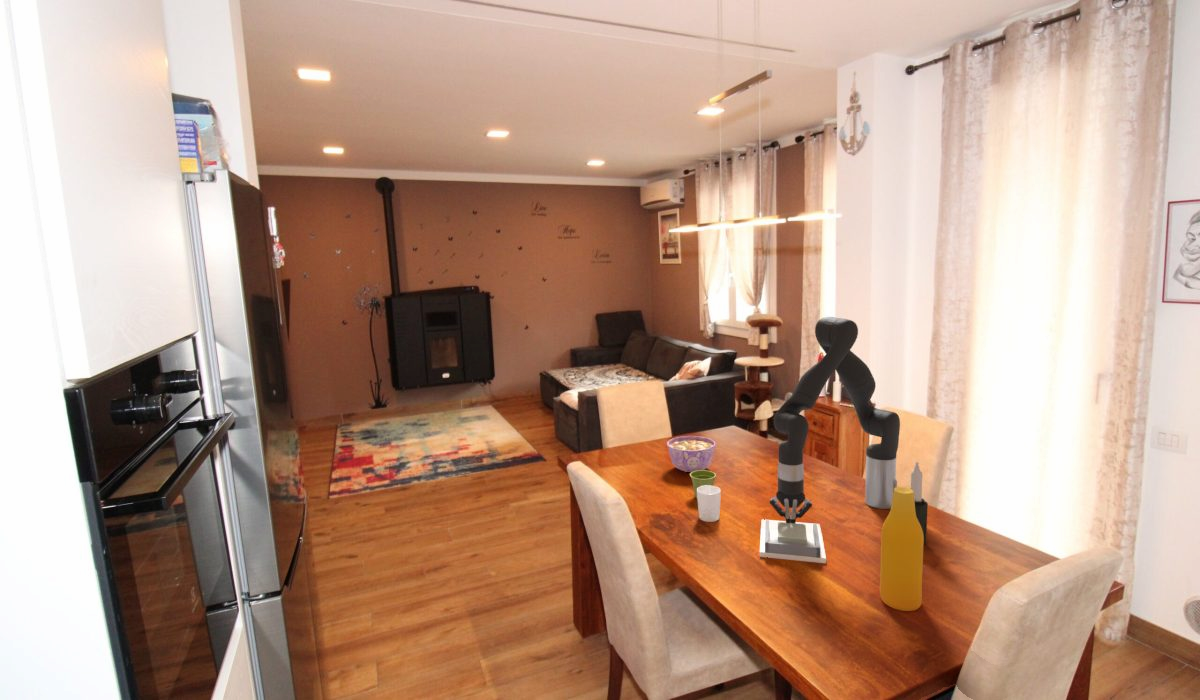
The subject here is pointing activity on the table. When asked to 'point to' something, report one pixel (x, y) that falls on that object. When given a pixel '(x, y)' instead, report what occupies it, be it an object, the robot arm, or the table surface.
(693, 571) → the table surface
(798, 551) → the loading dock
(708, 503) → the white cup
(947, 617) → the table surface
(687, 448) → the bowl of food
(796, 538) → the grey rectangular block
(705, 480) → the plant pot
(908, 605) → the beer bottle
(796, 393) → the robot arm
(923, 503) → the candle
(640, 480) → the table surface
